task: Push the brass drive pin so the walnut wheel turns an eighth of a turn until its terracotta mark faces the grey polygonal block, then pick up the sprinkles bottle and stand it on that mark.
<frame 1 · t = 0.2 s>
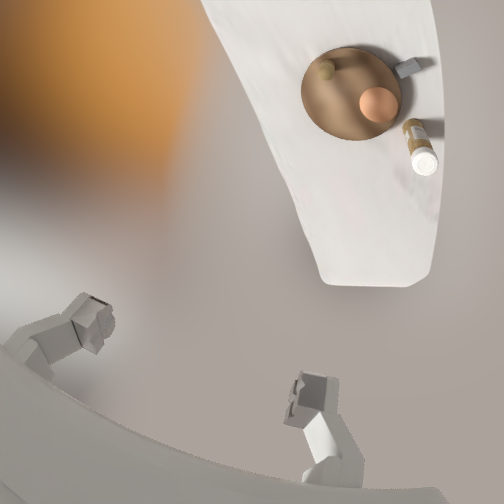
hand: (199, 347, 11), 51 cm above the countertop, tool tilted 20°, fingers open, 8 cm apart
grey polygonal block: (405, 65, 38), on the countertop
sprinkles bottle: (413, 128, 47), on the countertop
wheel: (351, 100, 43), point 5 cm above the countertop, hinge at 0.0°
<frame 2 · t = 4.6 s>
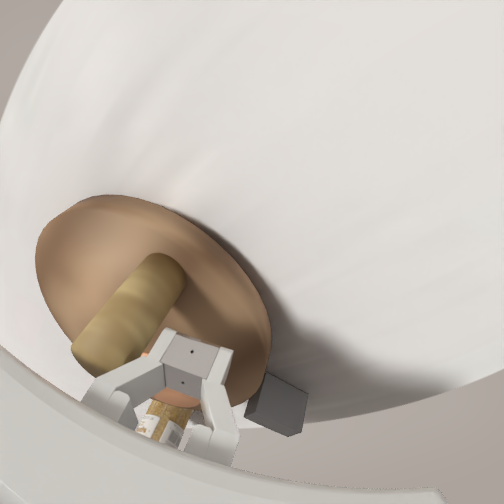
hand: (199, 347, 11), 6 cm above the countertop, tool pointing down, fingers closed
grey polygonal block: (281, 387, 22), on the countertop
sprinkles bottle: (176, 398, 28), on the countertop
wheel: (115, 357, 16), point 5 cm above the countertop, hinge at 0.0°, touching gripper
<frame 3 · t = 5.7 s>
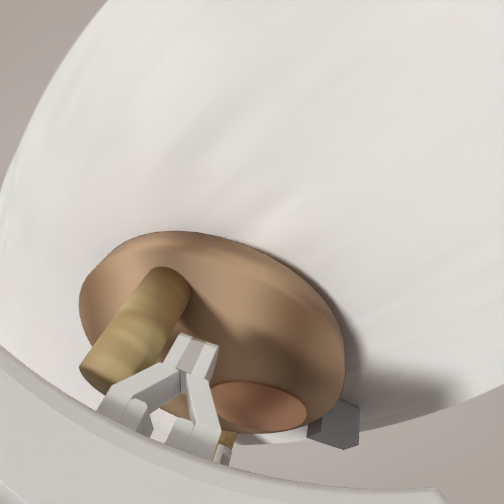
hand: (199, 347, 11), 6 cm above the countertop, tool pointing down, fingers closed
grey polygonal block: (336, 404, 22), on the countertop
sprinkles bottle: (220, 419, 28), on the countertop
wheel: (187, 398, 16), point 5 cm above the countertop, hinge at 37.6°, touching gripper
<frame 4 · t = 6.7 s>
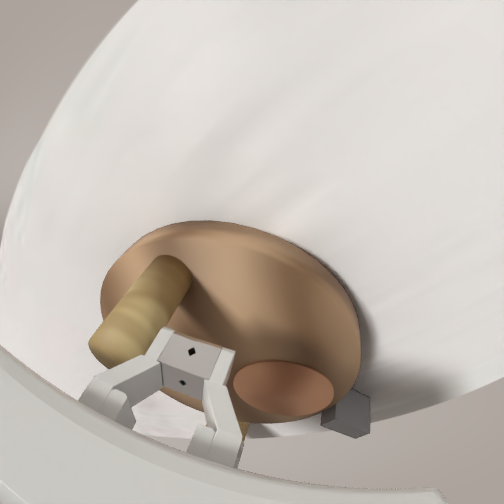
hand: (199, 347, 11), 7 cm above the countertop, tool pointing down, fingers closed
grey polygonal block: (347, 393, 23), on the countertop
wheel: (209, 384, 17), point 5 cm above the countertop, hinge at 50.5°
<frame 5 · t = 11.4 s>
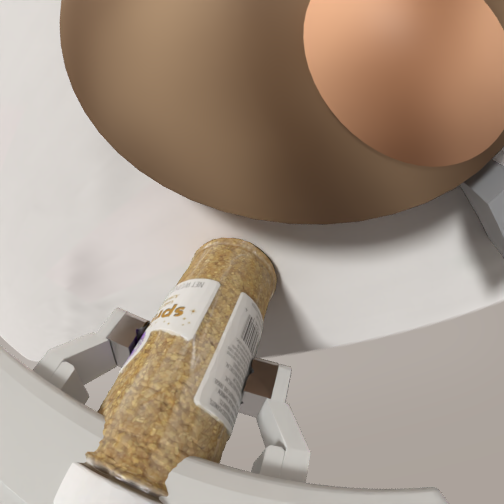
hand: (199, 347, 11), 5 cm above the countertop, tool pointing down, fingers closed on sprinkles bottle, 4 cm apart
grey polygonal block: (484, 196, 10), on the countertop
sprinkles bottle: (236, 271, 16), on the countertop, touching gripper
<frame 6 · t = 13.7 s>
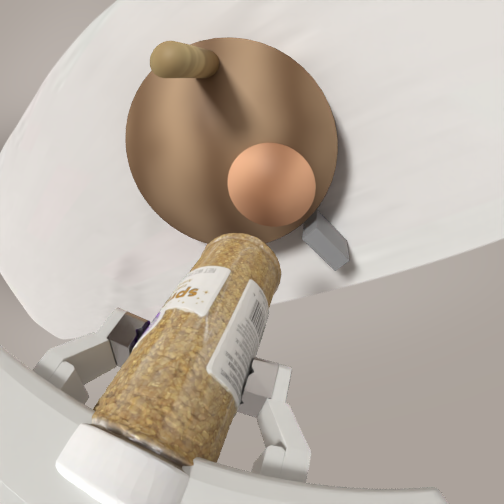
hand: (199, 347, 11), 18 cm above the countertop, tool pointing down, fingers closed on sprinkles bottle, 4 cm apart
grey polygonal block: (326, 230, 27), on the countertop
sprinkles bottle: (243, 266, 17), point 12 cm above the countertop, touching gripper
wheel: (211, 153, 21), point 5 cm above the countertop, hinge at 50.5°
when the fingers open (10 cm above the countertop, at t = 16.0 s): sprinkles bottle stays where it is, resting on wheel.
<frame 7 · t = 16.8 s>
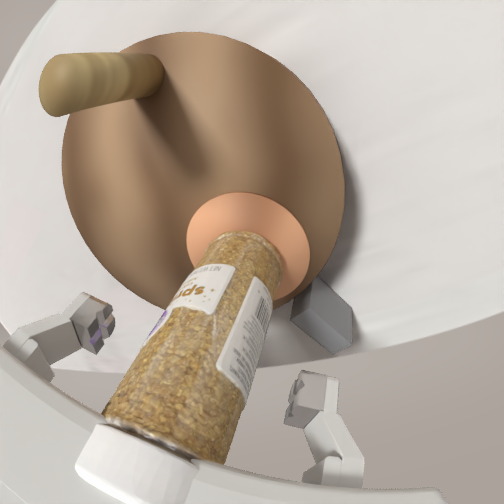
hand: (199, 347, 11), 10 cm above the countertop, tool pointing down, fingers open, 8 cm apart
grey polygonal block: (325, 296, 21), on the countertop
sprinkles bottle: (245, 262, 17), point 3 cm above the countertop, touching wheel
wheel: (155, 213, 14), point 5 cm above the countertop, hinge at 50.5°, touching sprinkles bottle
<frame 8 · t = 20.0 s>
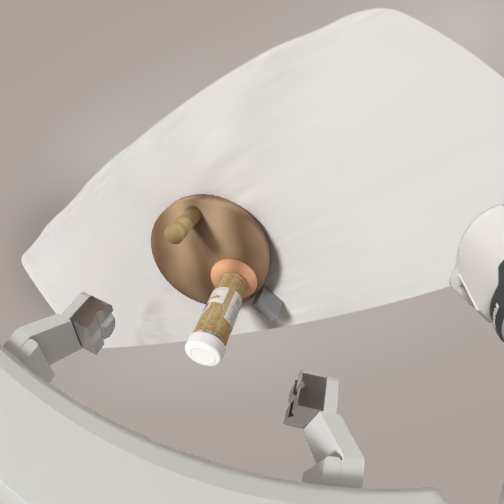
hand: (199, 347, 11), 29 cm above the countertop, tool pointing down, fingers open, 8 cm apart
grey polygonal block: (270, 296, 47), on the countertop
sprinkles bottle: (233, 282, 44), point 3 cm above the countertop, touching wheel
wheel: (200, 266, 41), point 5 cm above the countertop, hinge at 50.5°, touching sprinkles bottle
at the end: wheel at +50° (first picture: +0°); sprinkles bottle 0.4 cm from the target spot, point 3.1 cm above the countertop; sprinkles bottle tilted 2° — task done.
